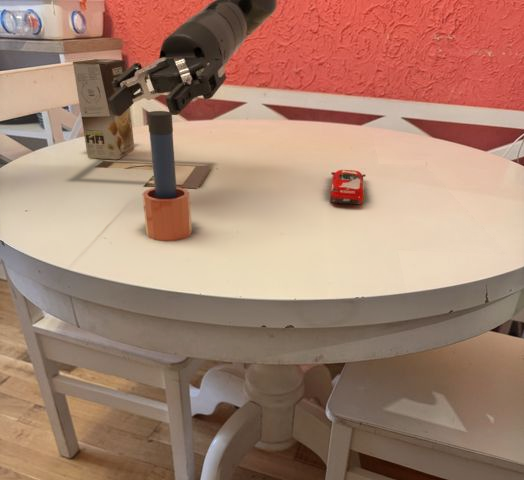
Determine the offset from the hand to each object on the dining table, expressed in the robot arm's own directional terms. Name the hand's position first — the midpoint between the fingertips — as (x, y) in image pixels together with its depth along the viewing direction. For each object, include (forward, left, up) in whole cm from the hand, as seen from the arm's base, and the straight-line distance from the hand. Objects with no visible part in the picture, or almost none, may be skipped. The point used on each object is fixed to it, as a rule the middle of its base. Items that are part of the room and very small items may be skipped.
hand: (141, 108), depth 60 cm
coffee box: (-17, +36, -14) cm, 43 cm away
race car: (+28, +16, -14) cm, 35 cm away
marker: (+4, -5, -14) cm, 15 cm away
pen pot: (+4, -5, -14) cm, 15 cm away
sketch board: (-6, +21, -14) cm, 26 cm away
